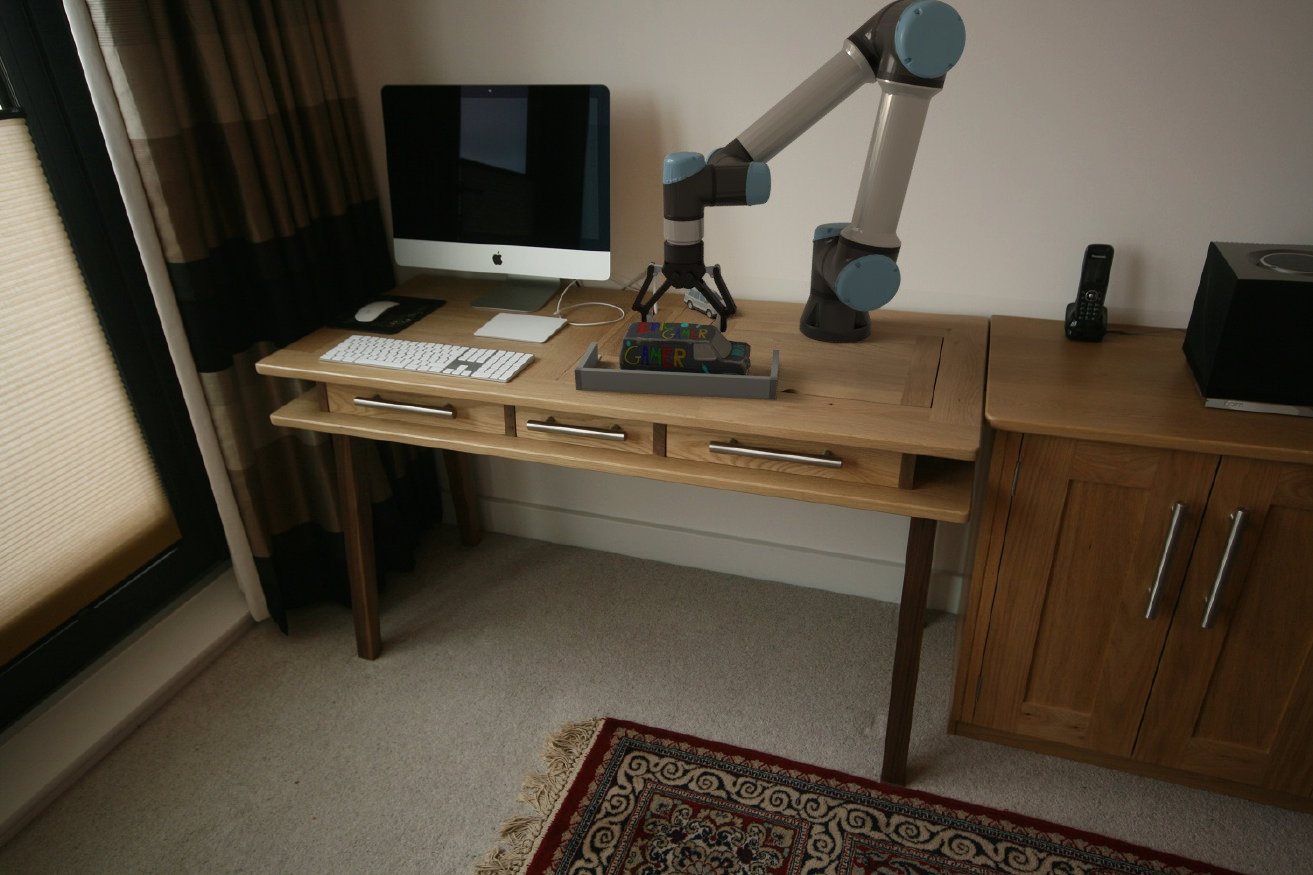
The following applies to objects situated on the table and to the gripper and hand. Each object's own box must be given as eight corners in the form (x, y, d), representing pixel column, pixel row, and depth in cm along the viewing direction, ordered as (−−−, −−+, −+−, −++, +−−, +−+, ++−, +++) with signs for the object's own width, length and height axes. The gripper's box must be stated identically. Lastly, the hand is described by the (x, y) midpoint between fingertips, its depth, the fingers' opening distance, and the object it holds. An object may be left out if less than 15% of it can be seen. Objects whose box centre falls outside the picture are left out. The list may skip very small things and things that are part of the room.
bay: (778, 364, 172) (779, 345, 170) (775, 399, 158) (776, 379, 156) (595, 355, 178) (594, 337, 176) (575, 389, 163) (574, 370, 161)
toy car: (714, 322, 194) (714, 301, 192) (682, 306, 204) (681, 286, 202) (734, 317, 197) (735, 296, 195) (701, 302, 207) (701, 281, 204)
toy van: (747, 393, 161) (749, 342, 156) (617, 386, 165) (615, 337, 160) (751, 370, 170) (753, 322, 166) (627, 364, 174) (626, 317, 169)
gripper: (752, 236, 163) (748, 341, 173) (622, 232, 167) (626, 336, 177) (749, 246, 157) (745, 355, 167) (614, 243, 160) (618, 349, 170)
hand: (684, 345), depth 172 cm, fingers open, 13 cm apart
